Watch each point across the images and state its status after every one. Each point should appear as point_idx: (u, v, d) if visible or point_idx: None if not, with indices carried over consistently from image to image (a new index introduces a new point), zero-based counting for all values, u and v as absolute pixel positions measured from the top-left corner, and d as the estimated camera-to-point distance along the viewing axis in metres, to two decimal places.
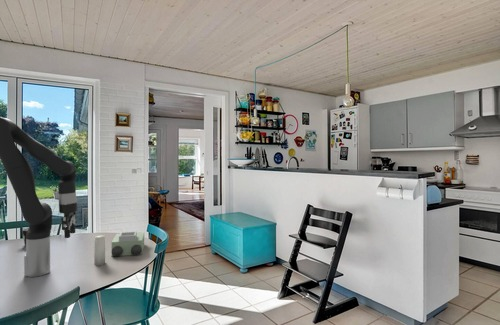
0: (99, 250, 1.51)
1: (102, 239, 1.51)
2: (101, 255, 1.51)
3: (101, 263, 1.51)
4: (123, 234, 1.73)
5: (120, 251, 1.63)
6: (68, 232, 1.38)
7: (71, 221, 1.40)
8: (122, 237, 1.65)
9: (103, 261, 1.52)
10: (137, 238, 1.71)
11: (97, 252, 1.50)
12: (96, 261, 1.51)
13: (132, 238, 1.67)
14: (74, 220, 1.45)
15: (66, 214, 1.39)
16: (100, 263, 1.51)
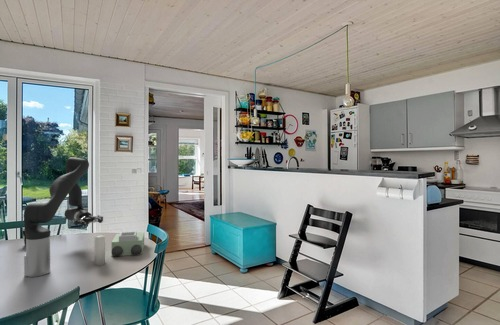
0: (99, 250, 1.51)
1: (102, 239, 1.51)
2: (101, 255, 1.51)
3: (101, 263, 1.51)
4: (123, 234, 1.73)
5: (120, 251, 1.63)
6: None
7: None
8: (122, 237, 1.65)
9: (103, 261, 1.52)
10: (137, 238, 1.71)
11: (97, 252, 1.50)
12: (96, 261, 1.51)
13: (132, 238, 1.67)
14: None
15: None
16: (100, 263, 1.51)
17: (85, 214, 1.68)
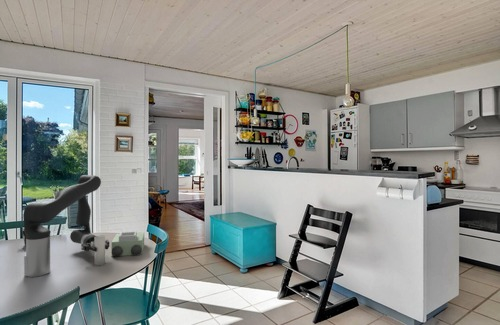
0: (99, 250, 1.51)
1: (102, 239, 1.51)
2: (101, 255, 1.51)
3: (101, 263, 1.51)
4: (123, 234, 1.73)
5: (120, 251, 1.63)
6: None
7: None
8: (122, 237, 1.65)
9: (103, 261, 1.52)
10: (137, 238, 1.71)
11: (97, 252, 1.50)
12: (96, 261, 1.51)
13: (132, 238, 1.67)
14: None
15: None
16: (100, 263, 1.51)
17: (93, 238, 1.59)
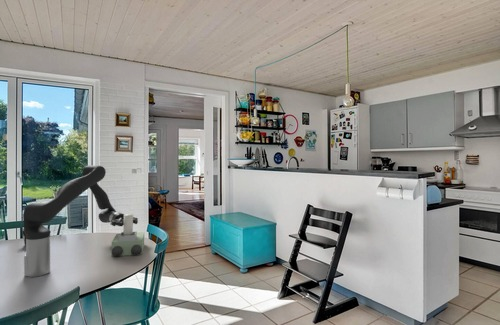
0: (128, 226, 1.68)
1: (131, 217, 1.68)
2: (129, 231, 1.68)
3: None
4: None
5: (120, 251, 1.63)
6: None
7: None
8: (122, 237, 1.65)
9: None
10: (137, 238, 1.71)
11: (126, 228, 1.68)
12: None
13: (132, 238, 1.67)
14: None
15: None
16: None
17: (120, 216, 1.76)
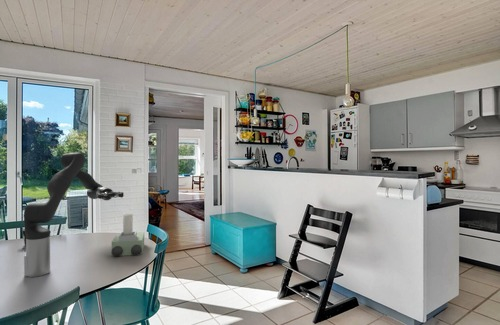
0: (128, 226, 1.68)
1: (130, 217, 1.68)
2: (129, 231, 1.68)
3: None
4: None
5: (120, 251, 1.63)
6: None
7: (114, 197, 1.81)
8: (122, 237, 1.65)
9: None
10: (137, 238, 1.71)
11: (126, 229, 1.68)
12: None
13: (132, 238, 1.67)
14: None
15: None
16: None
17: (107, 190, 1.82)
